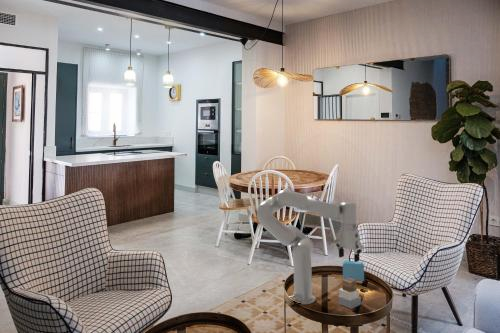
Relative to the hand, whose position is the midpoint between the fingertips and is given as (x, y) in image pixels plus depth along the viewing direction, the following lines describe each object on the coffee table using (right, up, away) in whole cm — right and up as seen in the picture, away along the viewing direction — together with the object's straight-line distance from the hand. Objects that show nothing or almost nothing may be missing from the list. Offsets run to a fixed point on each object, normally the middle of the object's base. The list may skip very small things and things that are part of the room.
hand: (348, 259), depth 192 cm
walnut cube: (+1, -16, +1) cm, 16 cm away
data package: (+11, -22, +31) cm, 40 cm away
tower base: (+1, -24, +2) cm, 24 cm away
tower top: (+1, -20, +2) cm, 20 cm away
